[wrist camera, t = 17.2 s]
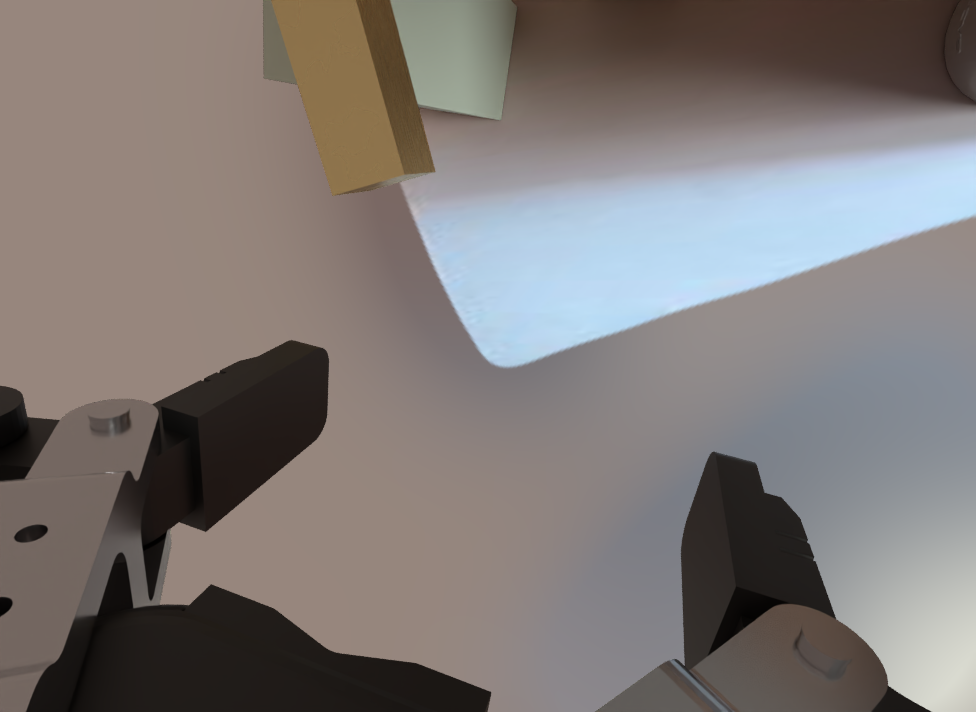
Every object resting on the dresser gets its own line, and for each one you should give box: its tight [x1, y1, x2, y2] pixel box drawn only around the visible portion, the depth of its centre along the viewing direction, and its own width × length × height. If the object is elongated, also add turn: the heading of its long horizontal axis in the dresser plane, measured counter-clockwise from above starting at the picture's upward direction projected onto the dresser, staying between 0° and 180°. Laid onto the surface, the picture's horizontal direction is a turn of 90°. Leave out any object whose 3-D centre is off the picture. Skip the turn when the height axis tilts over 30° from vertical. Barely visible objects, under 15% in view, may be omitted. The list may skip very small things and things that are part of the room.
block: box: [263, 0, 517, 120], centre depth 35 cm, size 6×8×22 cm
